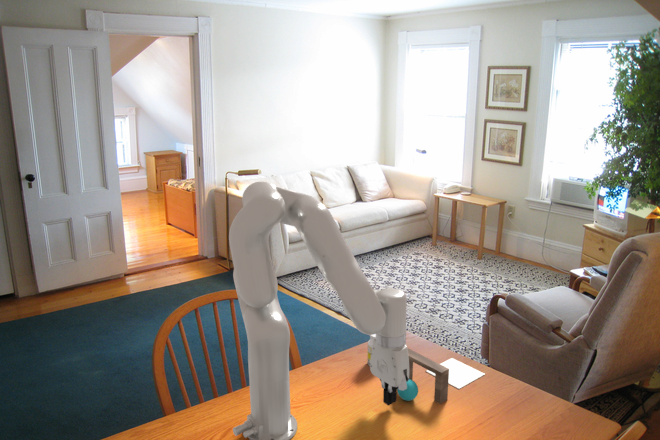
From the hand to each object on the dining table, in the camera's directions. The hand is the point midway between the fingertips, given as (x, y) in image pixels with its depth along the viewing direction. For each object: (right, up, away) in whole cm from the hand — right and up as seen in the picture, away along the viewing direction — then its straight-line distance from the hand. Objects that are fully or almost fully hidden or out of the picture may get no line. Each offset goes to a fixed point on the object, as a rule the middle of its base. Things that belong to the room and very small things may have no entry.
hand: (389, 402), depth 136 cm
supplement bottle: (-2, +4, +22) cm, 23 cm away
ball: (+5, +2, +4) cm, 7 cm away
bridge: (+10, 0, +8) cm, 13 cm away
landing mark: (+21, +3, +17) cm, 27 cm away
